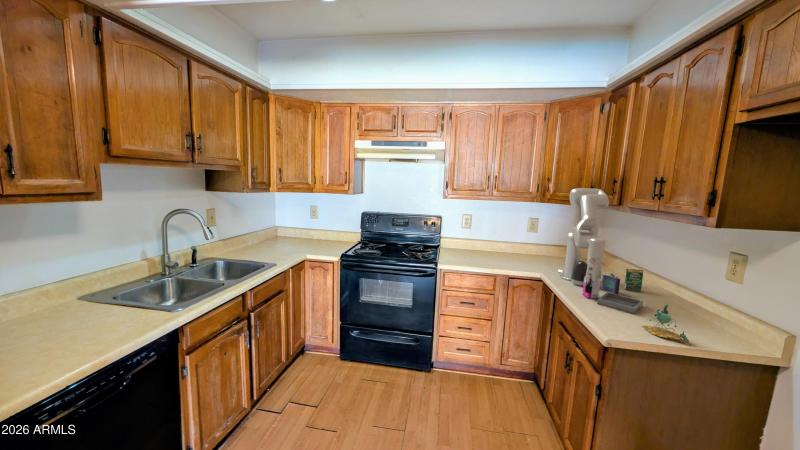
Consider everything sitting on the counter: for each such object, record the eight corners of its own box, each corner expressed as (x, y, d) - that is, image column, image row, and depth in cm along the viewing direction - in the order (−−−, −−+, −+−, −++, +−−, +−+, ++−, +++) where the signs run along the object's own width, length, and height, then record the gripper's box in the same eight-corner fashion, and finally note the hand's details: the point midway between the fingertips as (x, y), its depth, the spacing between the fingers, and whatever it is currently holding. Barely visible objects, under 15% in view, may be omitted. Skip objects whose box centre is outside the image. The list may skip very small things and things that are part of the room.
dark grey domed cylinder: (586, 282, 197) (588, 259, 195) (591, 288, 188) (594, 264, 185) (568, 281, 200) (571, 258, 198) (572, 286, 190) (575, 262, 188)
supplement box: (592, 295, 175) (594, 275, 174) (598, 299, 170) (601, 279, 168) (581, 294, 176) (584, 275, 174) (587, 298, 170) (590, 278, 168)
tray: (597, 304, 163) (598, 298, 162) (607, 297, 173) (607, 292, 173) (634, 314, 151) (635, 308, 150) (642, 306, 161) (643, 301, 161)
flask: (599, 289, 186) (602, 270, 185) (602, 288, 188) (605, 270, 186) (616, 294, 177) (619, 275, 176) (620, 294, 179) (622, 275, 177)
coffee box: (624, 290, 186) (627, 269, 184) (623, 288, 189) (626, 267, 187) (641, 292, 183) (644, 271, 181) (639, 291, 185) (642, 269, 184)
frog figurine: (678, 348, 121) (679, 311, 120) (633, 331, 138) (634, 298, 138) (696, 345, 123) (697, 309, 122) (650, 329, 141) (651, 297, 140)
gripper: (597, 264, 161) (593, 296, 164) (607, 259, 172) (603, 289, 175) (581, 261, 167) (577, 292, 169) (592, 256, 178) (588, 285, 181)
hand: (590, 290), depth 172 cm, fingers closed on supplement box, 8 cm apart
